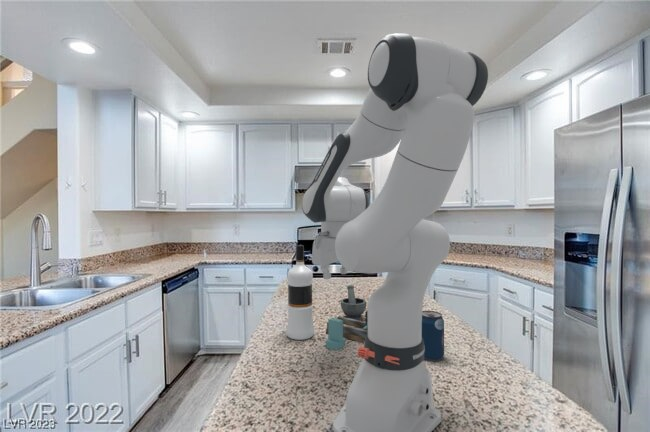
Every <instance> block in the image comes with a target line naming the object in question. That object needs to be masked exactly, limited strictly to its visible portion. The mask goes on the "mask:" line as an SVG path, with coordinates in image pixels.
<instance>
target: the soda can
mask: <svg viewBox="0 0 650 432" xmlns="http://www.w3.org/2000/svg"><path fill="white" fill-rule="evenodd" d="M422 338H423V340H424V346H425V352H424V360H427V361H429V362H436V361H441V360H442V358H443V357H444V355H445V320H444V319H443V315H442V313H441V312H439V311H435V310H422Z"/></svg>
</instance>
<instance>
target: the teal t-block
mask: <svg viewBox="0 0 650 432" xmlns="http://www.w3.org/2000/svg"><path fill="white" fill-rule="evenodd" d="M327 321H328V334H327V336H328V338H327V339H326V340H325V348H327V349H330V350H333V351H339V350H340V349H342V348H343V347H344V346H346V340H347V339H346V338H343V320H340V319H337V318H336V317H335V318H334V317H331V318H329V319H328V320H327Z"/></svg>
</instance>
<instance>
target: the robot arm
mask: <svg viewBox="0 0 650 432" xmlns="http://www.w3.org/2000/svg"><path fill="white" fill-rule="evenodd" d="M488 78H489V69H488V66H487V63H486V62H485V61H484V60H483V59H482V58H481V57H480V56H478V55H477V54H474V53H472V52H471V51H466V50H462V49H460V48H457V47H454V46H452V45H449V44H446V43H444V42H443V41H442V40H441V41H440V40H436V39H432V38H426V37H420V36H412V35H411V34H409V33H401V32H400V33H389V34H387V35H385V36H384V37H382V38H381V40H379V41H378V43H377V44H376V45H375V47H374V49H373V51H372V53H371V56H370V59H369V62H368V67H367V81H368V85H369V87H370V88H369V90H368V92H367V93H366V95H365V98H364V100H363V102H362V106H361V107H360V108H361V109H360V111H359V113H358V115H357V117H356V118H355V120H354V121H353V123H352V124H351V125H350V126H349V127H348V128H347V129H346V130H345V131H344V132H341V133H340V134H338V135H337V136H336V137H335V139H334V141H333V142H332V144H331V146H330V147H329V149H328V151H327V153H326V155H325V156H324V159H323V160H322V163H321V165H320V167H319V168H318V171H317V172H316V175H315V176H314V178H313V179H312V181H311V183H310V185H309V186H308V187H307V188H306V190H305V192H304V193H303V196H302V199H301V209H302V212H303V214H304V216H305V217H306V218H308V219H309V221H311V222H313V224H314V223H315V224H316V223H317V224H318V223H320V226H321V228H320V229H321V230H320V232H318V233H317V234H316V235H315V237H314V241H313V243H312V252H311V262H312V264H313V265H315V266H320V269H321V272H322V276H323V277H322V278H323V280H330V279H331V278H332V272H330V264H334V263H339V264H340V265H341V267H340V274H341V275H347V274H348V272H352V273H353V272H354V273H359V274H368V275H370V274H372V275H373V274H382V273H387V274H386V277H385V279H384V281H383V282H382V284H381V285H380V286H379V287H378V288H377V289H375V290H374V291H373V292H372V293H371V294H370V296H369V297H368V301H367V303H366V309H367V310H366V311H368V333H367V335H366V339H365V342H364V343H363V346H361V345H360V346H358V350H357V356H358V357H359V358H362V360H361V362H360V363H359V366H358V368H357V370H356V372H355V375H354V376H353V379H352V381H351V384H350V386H349V388H348V391H347V392H346V393H347V394H346V398H345V402H344V403H343V405H342V407H341V409H340V410H339V412H338V414H337V415H336V417H335V419H334V420H333V422H332V428H331V429H332V431H333V432H432V431H434V430H435V428H436V427H438V425H440V423H441V422H442V413H441V412H440V411H439V410H438V409H437V408H436V407H435V406H434V394H433V391H434V390H433V379H432V377H433V376H432V373H431V371H430V370H429V369H428V367H427V365H426V364H425V361H424V360H425V359H424V352H425V346H424V340H423V338H422V311H423V307H424V306H423V305H424V299H425V296H426V293H427V292H426V291H427V288H428V286H429V284H430V281H431V279H432V277H433V275H434V273H435V271H436V270H437V269H438V267H440V265H441V264H442V263H444V261H445V260H446V259H447V257H448V256H449V253H450V249H451V241H450V236H449V233H448V232H447V230H446V228H445V227H444V226H443V225H442V224H441V223H439V222H437V221H432V220H429V219H425V218H427V217H429V216H431V215H432V214H434V213H436V212H437V211H438V210H439V209H440V208H441V207H442V205H443V204H444V202H445V200H446V197H447V195H448V192H449V190H450V189H451V186H452V184H453V182H454V179H455V178H456V175H457V174H458V171H459V168H460V166H461V163H462V161H463V160H464V159H463V158H464V156H465V153H466V151H467V147H468V144H469V142H470V137H471V134H472V131H473V126H474V121H475V114H476V113H475V109H474V107H473V106H475V105H476V104H477V103H478V102H479V101H480V99H481V98H482V96H483V94H484V92H485V90H486V87H487V84H488V80H489V79H488ZM398 144H399V145H398ZM397 146H398V147H397ZM396 147H397V150H396V153H395V155H394V160H393V161H392V165H391V167H390V170H389V172H388V175H387V178H386V179H385V180H386V181H385V183H384V184H383V187H381V190H380V192H379V193H378V195H377V196H376V197H375V199H374V200H373V201H372V202H371V203H370V200H369V195H368V194H367V192H366V191H365V190H364V188H363V187H359V186H357V185H353V184H352V183H350V182H349V180H348V178H347V177H344V176H341V174H342V172H343V171H344V170H346V169H347V168H348V167H350V166H351V165H354V164H357V163H359V162H362V161H366V160H370V159H371V160H372V159H375V158H379V157H382V156H385V155H387V154H389V153H391V152H392V151H394V150H395V148H396Z"/></svg>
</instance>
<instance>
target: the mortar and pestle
mask: <svg viewBox="0 0 650 432" xmlns="http://www.w3.org/2000/svg"><path fill="white" fill-rule="evenodd" d="M346 289H347V297H346V298H342V299H341V300H340V308H341V310H342V313H343V314H344V315H345V316H344V317H345V318H350V319H355V320H359V321H362V315H363V314H365V312H366V309H367V301H366V300H365V299H364V298H361V297H360V298H359V297H356V294H355V290H354V289H355V287H354V285H353V284H349V285H348V286H346Z"/></svg>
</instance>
